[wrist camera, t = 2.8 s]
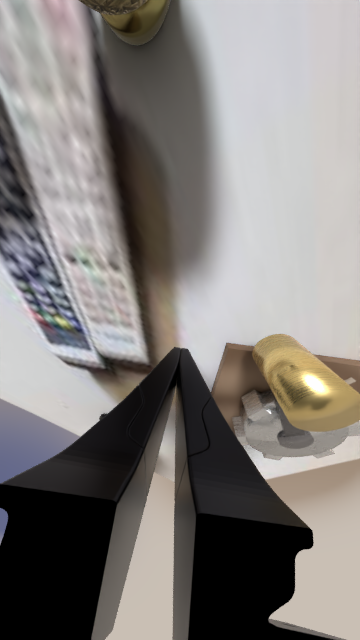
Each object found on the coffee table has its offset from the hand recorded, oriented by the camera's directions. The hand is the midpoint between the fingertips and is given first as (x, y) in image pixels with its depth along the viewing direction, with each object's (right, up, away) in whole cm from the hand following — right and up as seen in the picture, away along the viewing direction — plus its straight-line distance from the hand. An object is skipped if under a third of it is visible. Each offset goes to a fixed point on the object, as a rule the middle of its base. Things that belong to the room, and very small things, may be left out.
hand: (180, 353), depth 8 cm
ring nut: (+10, -6, +6) cm, 13 cm away
